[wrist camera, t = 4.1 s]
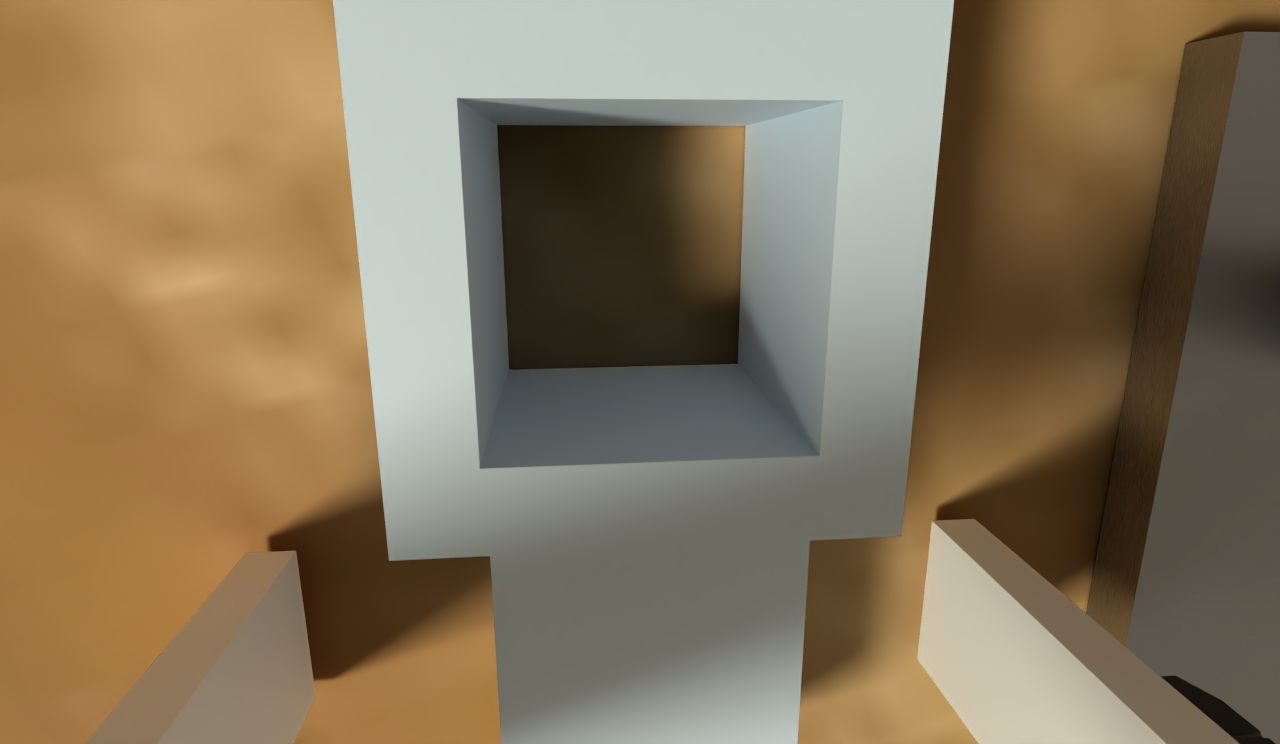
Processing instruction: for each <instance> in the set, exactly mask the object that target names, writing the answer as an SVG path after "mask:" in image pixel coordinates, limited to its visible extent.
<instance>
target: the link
mask: <svg viewBox="0 0 1280 744" xmlns="http://www.w3.org/2000/svg"><path fill="white" fill-rule="evenodd" d="M333 6H334V16H335V26H336V36H337V46H338V56H339V66H340V76H341V86H342V96H343V106H344V116H345V126H346V136H347V146H348V156H349V166H350V176H351V186H352V196H353V206H354V216H355V226H356V236H357V246H358V256H359V266H360V276H361V286H362V296H363V306H364V316H365V326H366V336H367V346H368V356H369V366H370V376H371V386H372V396H373V406H374V416H375V426H376V436H377V446H378V456H379V466H380V476H381V486H382V496H383V506H384V516H385V526H386V536H387V546H388V556H389V561H397V560H417V559H438V558H459V557H480V556H490V564H491V580H492V597H493V613H494V630H495V646H496V663H497V679H498V696H499V712H500V729H501V744H797V740H798V725H799V709H800V693H801V677H802V661H803V646H804V630H805V614H806V598H807V582H808V567H809V551H810V541H812V540H833V539H854V538H875V537H895V536H902V525H903V515H904V505H905V495H906V485H907V474H908V464H909V454H910V444H911V434H912V424H913V413H914V403H915V393H916V383H917V373H918V363H919V352H920V342H921V332H922V322H923V312H924V302H925V291H926V281H927V271H928V261H929V251H930V240H931V230H932V220H933V210H934V200H935V190H936V179H937V169H938V159H939V149H940V139H941V129H942V118H943V108H944V98H945V88H946V78H947V68H948V57H949V47H950V37H951V27H952V17H953V6H954V0H333ZM497 125H601V126H746V132H745V163H744V193H743V223H742V253H741V283H740V313H739V344H738V364H710V365H672V366H633V367H594V368H556V369H517V370H509V356H508V336H507V316H506V296H505V276H504V255H503V235H502V215H501V195H500V175H499V155H498V134H497Z"/></svg>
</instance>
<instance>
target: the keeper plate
mask: <svg viewBox="0 0 1280 744" xmlns="http://www.w3.org/2000/svg"><path fill="white" fill-rule="evenodd" d="M1086 614H1087V615H1088V616H1090V617H1091V618H1092V619H1093V620H1094V621H1096V622H1097V623H1098V624H1099V625H1100V626H1101V627H1103V628H1104V629H1105V630H1106V631H1107V632H1109V633H1110V634H1111V635H1112V636H1113V637H1114V638H1116V639H1117V640H1118V641H1119V642H1120V643H1122V644H1123V645H1124V646H1125V647H1126V648H1127V649H1129V650H1130V651H1131V652H1132V653H1133V654H1134V655H1136V656H1137V657H1138V658H1139V659H1140V660H1142V661H1143V662H1144V663H1145V664H1146V665H1147V666H1149V667H1150V668H1151V669H1152V670H1153V671H1155V672H1156V673H1157V674H1158V675H1159V676H1174V675H1176V676H1177V677H1179V678H1181V679H1183V680H1185V681H1187V682H1189V683H1190V684H1192V685H1194V686H1196V687H1198V688H1200V689H1202V690H1203V691H1205V692H1207V693H1209V694H1211V695H1213V696H1215V697H1216V698H1218V699H1220V700H1222V701H1223V702H1225V703H1226V704H1227V705H1228V706H1230V707H1231V708H1232V709H1233V710H1235V711H1236V712H1237V713H1238V714H1240V715H1241V716H1242V717H1243V718H1244V719H1246V720H1247V721H1248V722H1249V723H1251V724H1252V725H1253V726H1254V727H1256V728H1257V729H1258V730H1259V731H1261V735H1262V737H1263V738H1269V739H1271V740H1272V741H1273V742H1274V743H1276V744H1280V32H1240V33H1235V34H1230V35H1225V36H1220V37H1216V38H1211V39H1206V40H1201V41H1196V42H1192V43H1187V44H1186V46H1185V52H1184V57H1183V63H1182V69H1181V75H1180V80H1179V86H1178V92H1177V98H1176V103H1175V109H1174V115H1173V120H1172V126H1171V132H1170V138H1169V143H1168V149H1167V155H1166V161H1165V166H1164V172H1163V178H1162V183H1161V189H1160V195H1159V201H1158V206H1157V212H1156V218H1155V223H1154V229H1153V235H1152V241H1151V246H1150V252H1149V258H1148V264H1147V269H1146V275H1145V281H1144V286H1143V292H1142V298H1141V304H1140V309H1139V315H1138V321H1137V327H1136V332H1135V338H1134V344H1133V349H1132V355H1131V361H1130V367H1129V372H1128V378H1127V384H1126V390H1125V395H1124V401H1123V407H1122V412H1121V418H1120V424H1119V430H1118V435H1117V441H1116V447H1115V453H1114V458H1113V464H1112V470H1111V475H1110V481H1109V487H1108V493H1107V498H1106V504H1105V510H1104V516H1103V521H1102V527H1101V533H1100V538H1099V544H1098V550H1097V556H1096V561H1095V567H1094V573H1093V578H1092V584H1091V590H1090V596H1089V601H1088V607H1087V613H1086Z"/></svg>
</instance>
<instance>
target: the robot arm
mask: <svg viewBox="0 0 1280 744" xmlns="http://www.w3.org/2000/svg"><path fill="white" fill-rule="evenodd" d="M917 659H918V660H919V662H920V663H921V664H922V666H923V667H924V668H925V670H926V671H927V673H928V674H929V675H930V677H931V678H932V680H933V681H934V682H935V684H936V685H937V687H938V688H939V689H940V691H941V692H942V693H943V695H944V696H945V698H946V699H947V700H948V702H949V703H950V705H951V706H952V707H953V709H954V710H955V711H956V713H957V714H958V716H959V717H960V718H961V720H962V721H963V723H964V724H965V725H966V727H967V728H968V730H969V731H970V732H971V734H972V735H973V736H974V738H975V739H976V741H977V742H978V743H979V744H1276V743H1274V742H1273V741H1272V740H1271V739H1269V738H1263V737H1262V735H1261V731H1259V730H1258V729H1257V728H1256V727H1254V726H1253V725H1252V724H1251V723H1249V722H1248V721H1247V720H1246V719H1244V718H1243V717H1242V716H1241V715H1240V714H1238V713H1237V712H1236V711H1235V710H1233V709H1232V708H1231V707H1230V706H1228V705H1227V704H1226V703H1225V702H1223V701H1222V700H1220V699H1218V698H1216V697H1215V696H1213V695H1211V694H1209V693H1207V692H1205V691H1203V690H1202V689H1200V688H1198V687H1196V686H1194V685H1192V684H1190V683H1189V682H1187V681H1185V680H1183V679H1181V678H1179V677H1177V676H1176V675H1174V676H1159V675H1158V674H1157V673H1156V672H1155V671H1153V670H1152V669H1151V668H1150V667H1149V666H1147V665H1146V664H1145V663H1144V662H1143V661H1142V660H1140V659H1139V658H1138V657H1137V656H1136V655H1134V654H1133V653H1132V652H1131V651H1130V650H1129V649H1127V648H1126V647H1125V646H1124V645H1123V644H1122V643H1120V642H1119V641H1118V640H1117V639H1116V638H1114V637H1113V636H1112V635H1111V634H1110V633H1109V632H1107V631H1106V630H1105V629H1104V628H1103V627H1101V626H1100V625H1099V624H1098V623H1097V622H1096V621H1094V620H1093V619H1092V618H1091V617H1090V616H1088V615H1087V614H1086V613H1085V612H1084V611H1083V610H1081V609H1080V608H1079V607H1078V606H1077V605H1076V604H1074V603H1073V602H1072V601H1071V600H1070V599H1068V598H1067V597H1066V596H1065V595H1064V594H1063V593H1061V592H1060V591H1059V590H1058V589H1057V588H1055V587H1054V586H1053V585H1052V584H1051V583H1050V582H1048V581H1047V580H1046V579H1045V578H1044V577H1042V576H1041V575H1040V574H1039V573H1038V572H1037V571H1035V570H1034V569H1033V568H1032V567H1031V566H1030V565H1028V564H1027V563H1026V562H1025V561H1024V560H1022V559H1021V558H1020V557H1019V556H1018V555H1017V554H1015V553H1014V552H1013V551H1012V550H1011V549H1009V548H1008V547H1007V546H1006V545H1005V544H1004V543H1002V542H1001V541H1000V540H999V539H998V538H996V537H995V536H994V535H993V534H992V533H991V532H989V531H988V530H987V529H986V528H985V527H984V526H982V525H981V524H980V523H979V522H978V521H976V520H975V519H959V520H938V521H932V527H931V537H930V546H929V555H928V565H927V574H926V583H925V592H924V602H923V611H922V620H921V629H920V639H919V648H918V657H917ZM315 698H316V694H315V687H314V680H313V672H312V665H311V657H310V650H309V643H308V635H307V628H306V620H305V613H304V605H303V598H302V591H301V583H300V576H299V568H298V561H297V554H296V551H277V552H255V553H246V554H245V555H244V556H243V557H242V559H241V560H240V561H239V562H238V563H237V564H236V566H235V567H234V568H233V569H232V570H231V572H230V573H229V574H228V575H227V576H226V577H225V579H224V580H223V581H222V582H221V583H220V585H219V586H218V587H217V588H216V589H215V590H214V592H213V593H212V594H211V595H210V596H209V598H208V599H207V600H206V601H205V602H204V603H203V605H202V606H201V607H200V608H199V609H198V611H197V612H196V613H195V614H194V615H193V616H192V618H191V619H190V620H189V621H188V622H187V624H186V625H185V626H184V627H183V628H182V629H181V631H180V632H179V633H178V634H177V635H176V637H175V638H174V639H173V640H172V641H171V642H170V644H169V645H168V646H167V647H166V648H165V650H164V651H163V652H162V653H161V654H160V655H159V657H158V658H157V659H156V660H155V661H154V663H153V664H152V665H151V666H150V667H149V668H148V670H147V671H146V672H145V673H144V674H143V675H142V677H141V678H140V679H139V680H138V681H137V683H136V684H135V685H134V686H133V687H132V688H131V690H130V691H129V692H128V693H127V694H126V696H125V697H124V698H123V699H122V700H121V701H120V703H119V704H118V705H117V706H116V707H115V709H114V710H113V711H112V712H111V713H110V714H109V716H108V717H107V718H106V719H105V720H104V722H103V723H102V724H101V725H100V726H99V727H98V729H97V730H96V731H95V732H94V733H93V735H92V736H91V737H90V738H89V739H88V740H87V742H86V743H85V744H294V742H295V740H296V738H297V736H298V733H299V731H300V729H301V727H302V725H303V723H304V721H305V719H306V717H307V715H308V713H309V711H310V708H311V706H312V704H313V702H314V700H315Z"/></svg>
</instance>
